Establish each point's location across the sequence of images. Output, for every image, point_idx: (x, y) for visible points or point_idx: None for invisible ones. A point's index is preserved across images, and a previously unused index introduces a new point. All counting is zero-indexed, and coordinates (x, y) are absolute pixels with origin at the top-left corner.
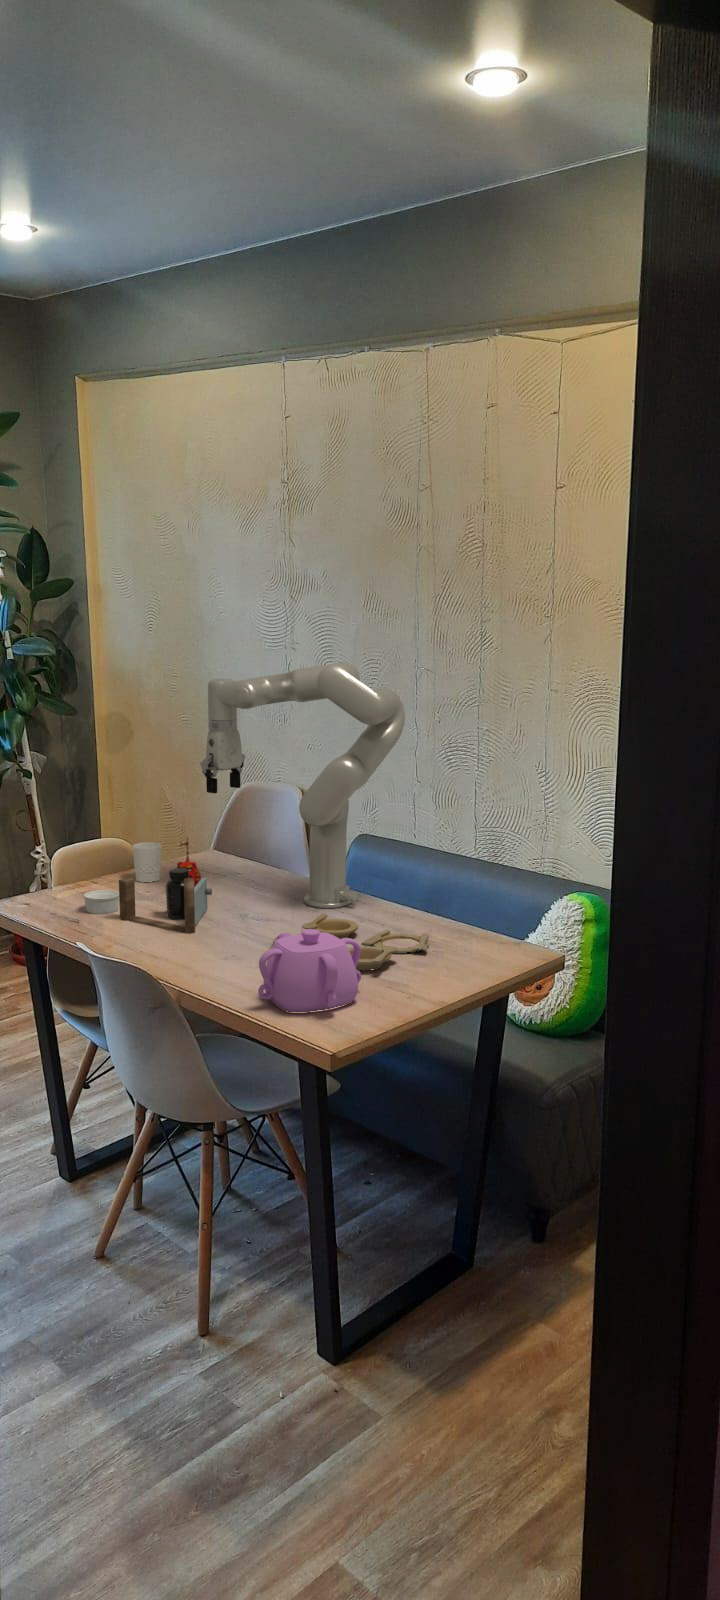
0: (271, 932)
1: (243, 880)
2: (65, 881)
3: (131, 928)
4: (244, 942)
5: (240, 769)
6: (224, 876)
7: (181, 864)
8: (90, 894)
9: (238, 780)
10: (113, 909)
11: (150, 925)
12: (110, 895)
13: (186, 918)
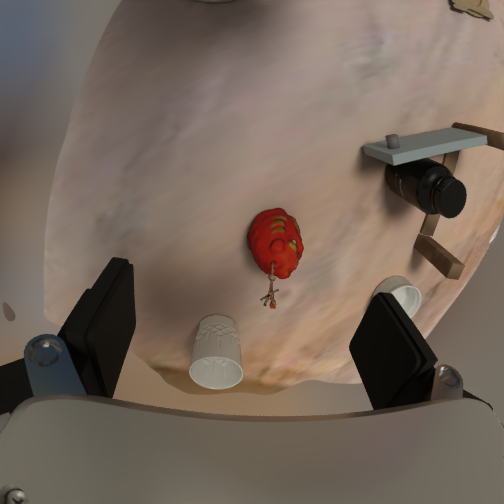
0: (421, 15)
1: (135, 185)
2: (273, 393)
3: None
4: (464, 46)
5: (34, 363)
6: (129, 233)
7: (292, 267)
8: None
9: (113, 295)
10: (401, 277)
11: None
12: None
13: None
